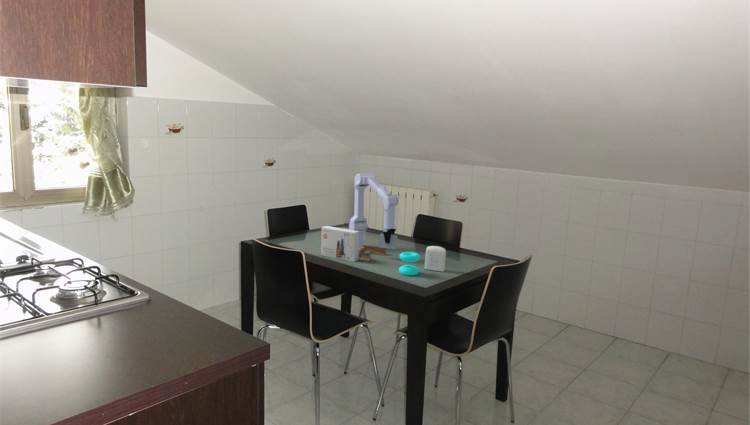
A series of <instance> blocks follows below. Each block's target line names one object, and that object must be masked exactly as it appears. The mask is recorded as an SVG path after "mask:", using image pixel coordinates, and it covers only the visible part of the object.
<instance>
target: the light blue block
mask: <svg viewBox="0 0 750 425" xmlns="http://www.w3.org/2000/svg"><path fill="white" fill-rule="evenodd" d="M378 241H379V242H378V243H379V244H378V247H381V248H386V249H390V250H396V249H397V248H398V235H397V234H394V235H391V238H390V243H389V244H388V243H385V238H384V235H383V233H380V234H379V240H378Z"/></svg>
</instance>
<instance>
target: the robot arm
mask: <svg viewBox="0 0 750 425" xmlns="http://www.w3.org/2000/svg"><path fill="white" fill-rule="evenodd" d="M368 186H369V187H371V188H372V189H374V191H376V195H377V196H378V198H380V199H381V200H382V205H383V209H384V215H383V216H384V217H383V219H384V220H383V227H382V230H381V232H382V234H383V235H384V238H385V243H388V244H389V243H390V238H391V235H395V232H396V231H397V227H398V226H397V225H396V221H395V220H396V208H397V205H398V204H399V198H398V197H397V195H396V194H392V193H391V192H390V191H389V190H388V189H387V187H385V186H381V184H380V183H379V181H377V180H376V176H375V175H374V174H373V173H372V172H369V173H368V172H367V173H357V174H355V176H354V207H353V208H354V209H353V210H354V212H353V213H354V214H353V216H352V217H351V218H350V219H349V224H348V229H349V230H355V231H359V249H360V248H362V247H363V245H367V244H366V242H367V234H366V232H367V231H368V228H369V227H368V220H367V218H366V217H365V216H364V214H365V213H364V211H365V210H364V208H365V207H364V206H365V189H366V188H367V187H368Z"/></svg>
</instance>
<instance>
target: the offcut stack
mask: <svg viewBox="0 0 750 425" xmlns="http://www.w3.org/2000/svg"><path fill="white" fill-rule="evenodd" d="M360 260H362V261H371V260H372V255H371V253H370V251H365V252H362V253H361V255H360Z"/></svg>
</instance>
